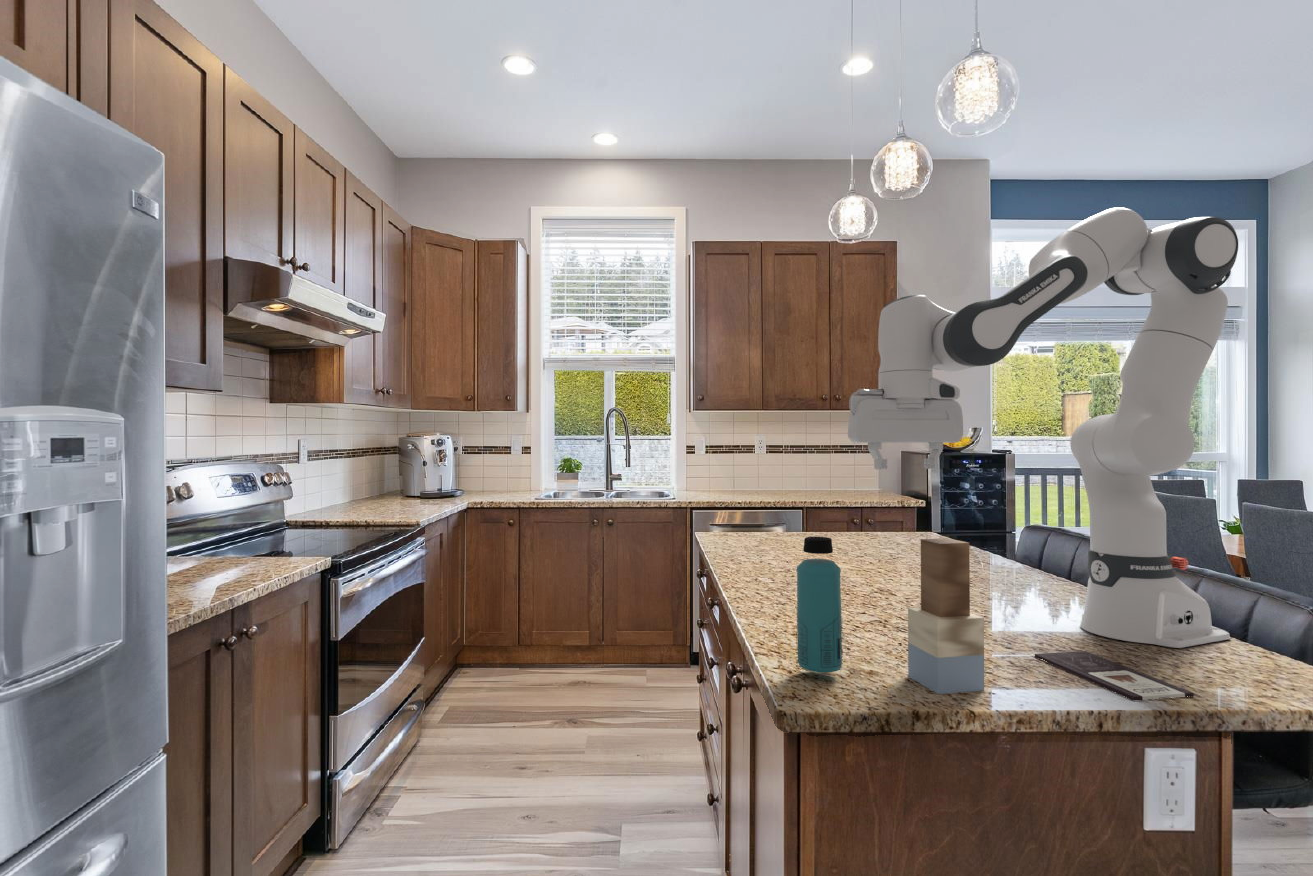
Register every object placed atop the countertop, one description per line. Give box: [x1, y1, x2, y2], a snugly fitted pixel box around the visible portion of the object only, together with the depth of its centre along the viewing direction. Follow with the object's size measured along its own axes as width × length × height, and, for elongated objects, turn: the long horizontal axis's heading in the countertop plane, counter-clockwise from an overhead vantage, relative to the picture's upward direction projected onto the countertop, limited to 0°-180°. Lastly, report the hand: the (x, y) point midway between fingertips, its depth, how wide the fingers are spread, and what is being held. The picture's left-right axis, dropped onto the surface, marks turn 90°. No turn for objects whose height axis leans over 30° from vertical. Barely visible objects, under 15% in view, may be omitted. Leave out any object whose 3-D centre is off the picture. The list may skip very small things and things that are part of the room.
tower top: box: [907, 606, 985, 658], centre depth 93 cm, size 7×7×5 cm
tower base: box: [907, 642, 985, 695], centre depth 93 cm, size 7×7×5 cm
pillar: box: [920, 537, 971, 617], centre depth 93 cm, size 4×4×10 cm
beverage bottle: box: [795, 536, 844, 674], centre depth 96 cm, size 6×7×20 cm
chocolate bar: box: [1034, 650, 1194, 701], centre depth 96 cm, size 9×1×18 cm
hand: (905, 469), depth 115 cm, fingers open, 8 cm apart
